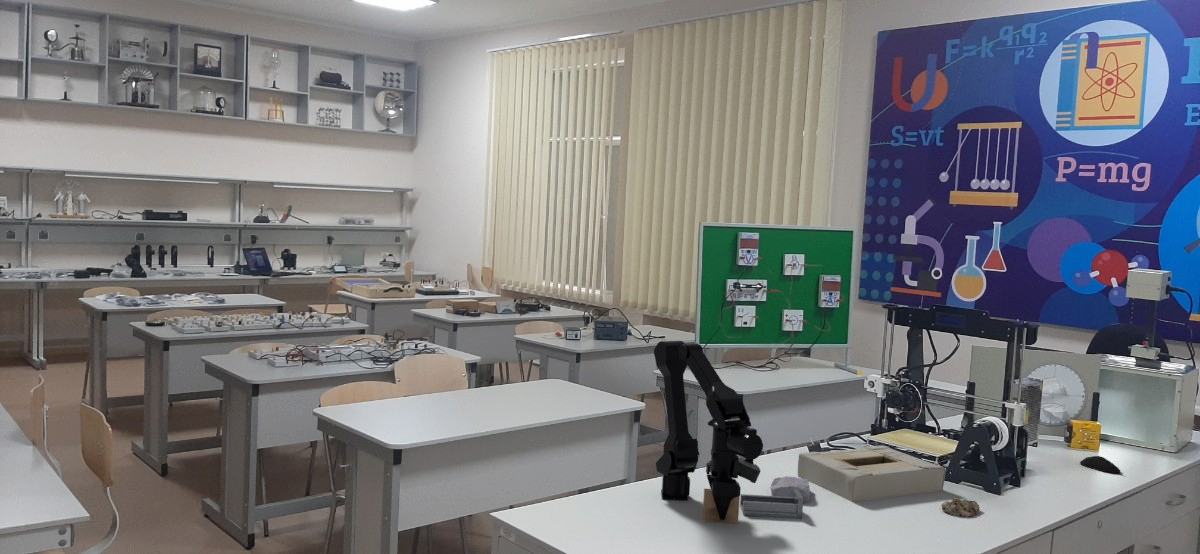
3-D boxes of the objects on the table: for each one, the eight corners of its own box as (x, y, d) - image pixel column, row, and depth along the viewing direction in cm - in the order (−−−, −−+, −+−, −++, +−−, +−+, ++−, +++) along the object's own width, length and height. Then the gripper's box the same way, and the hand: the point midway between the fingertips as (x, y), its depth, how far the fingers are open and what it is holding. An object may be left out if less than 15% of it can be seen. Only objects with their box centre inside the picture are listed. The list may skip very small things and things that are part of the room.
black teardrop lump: (1119, 479, 257) (1121, 465, 257) (1075, 465, 271) (1076, 452, 271) (1134, 477, 260) (1135, 464, 260) (1089, 463, 273) (1090, 451, 273)
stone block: (772, 507, 222) (812, 503, 221) (770, 488, 222) (809, 484, 221) (772, 494, 234) (809, 491, 232) (769, 477, 234) (807, 473, 232)
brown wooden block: (703, 521, 204) (705, 492, 204) (702, 517, 207) (704, 488, 207) (738, 523, 204) (739, 494, 203) (736, 519, 207) (738, 490, 206)
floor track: (743, 515, 210) (744, 494, 209) (739, 505, 217) (740, 485, 216) (802, 518, 209) (803, 497, 209) (796, 508, 216) (797, 488, 216)
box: (853, 505, 223) (944, 492, 237) (854, 475, 222) (946, 464, 236) (795, 479, 244) (882, 469, 258) (796, 452, 243) (884, 443, 257)
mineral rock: (958, 511, 214) (936, 492, 221) (953, 526, 215) (931, 507, 222) (992, 509, 217) (970, 491, 225) (987, 524, 219) (964, 505, 226)
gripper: (765, 461, 195) (760, 529, 196) (753, 439, 213) (749, 502, 214) (714, 458, 195) (711, 527, 196) (707, 437, 214) (704, 500, 215)
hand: (720, 513), depth 205 cm, fingers open, 8 cm apart
